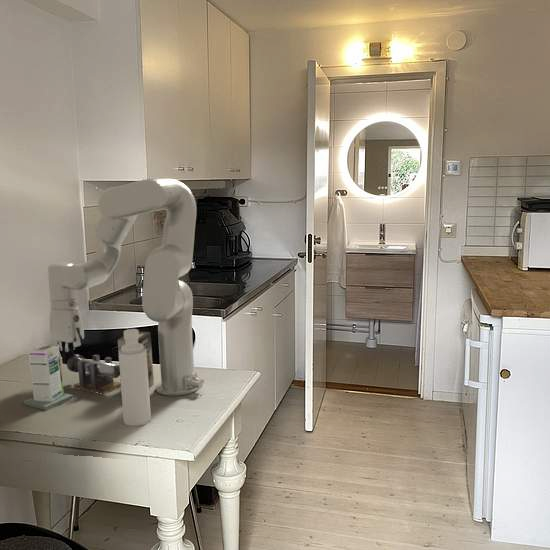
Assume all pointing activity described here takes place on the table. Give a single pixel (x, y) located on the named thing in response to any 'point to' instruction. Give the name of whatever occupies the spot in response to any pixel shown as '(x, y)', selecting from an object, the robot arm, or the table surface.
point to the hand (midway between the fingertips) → (68, 362)
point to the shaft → (102, 367)
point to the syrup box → (46, 373)
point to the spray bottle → (134, 380)
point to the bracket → (95, 377)
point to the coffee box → (146, 341)
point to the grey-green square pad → (48, 405)
